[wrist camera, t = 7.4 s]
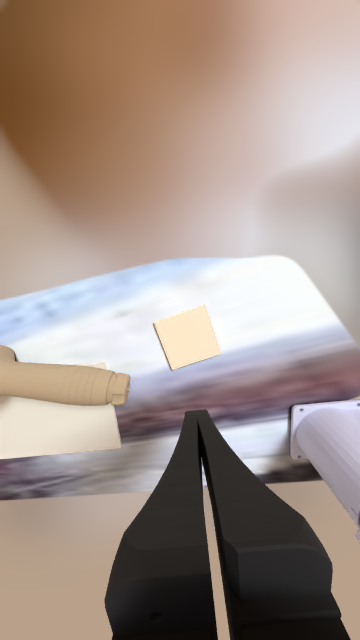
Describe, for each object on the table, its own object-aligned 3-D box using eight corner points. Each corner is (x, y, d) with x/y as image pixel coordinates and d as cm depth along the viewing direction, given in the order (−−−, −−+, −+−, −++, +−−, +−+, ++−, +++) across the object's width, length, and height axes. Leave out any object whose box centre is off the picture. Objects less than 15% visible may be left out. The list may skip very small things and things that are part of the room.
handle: (129, 358, 19) (-29, 341, 17) (117, 429, 17) (-61, 415, 16) (135, 360, 23) (10, 347, 22) (126, 416, 21) (-10, 404, 20)
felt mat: (105, 361, 22) (104, 363, 21) (122, 446, 24) (121, 448, 24) (-60, 377, 22) (-63, 379, 22) (-27, 459, 24) (-29, 461, 24)
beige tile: (203, 303, 21) (205, 304, 20) (219, 350, 22) (221, 353, 21) (154, 320, 21) (153, 322, 20) (172, 366, 22) (172, 369, 21)
